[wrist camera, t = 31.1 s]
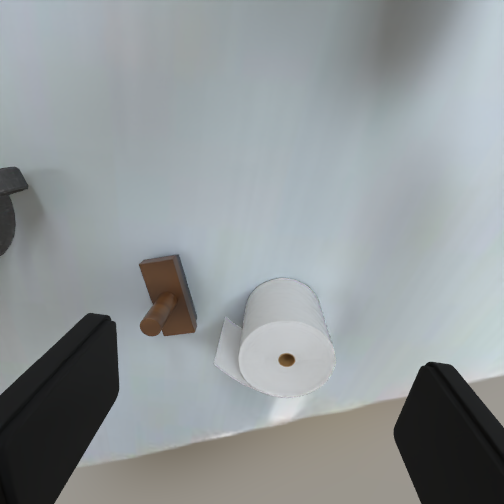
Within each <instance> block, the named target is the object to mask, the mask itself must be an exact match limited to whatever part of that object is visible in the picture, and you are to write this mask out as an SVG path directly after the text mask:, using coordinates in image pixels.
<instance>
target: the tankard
mask: <svg viewBox="0 0 504 504" xmlns="http://www.w3.org/2000/svg"><path fill="white" fill-rule="evenodd" d="M26 189H28V185H27V183H26V181H25V179H24V177H23V175H22V173H21V172H20V170H19V169H18V168H16V167H8V168H1V169H0V256H1V255H2V254H4V253H5V251H6V250H7V249H8V247H9V246H10V245H11V242H12V239H13V237H14V232H15V215H14V210H13V206H12V203H11V200H10V198H9V196H8V195H10V194H13V193H17V192H20V191H23V190H26Z"/></svg>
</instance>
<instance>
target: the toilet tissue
mask: <svg viewBox="0 0 504 504" xmlns="http://www.w3.org/2000/svg"><path fill="white" fill-rule="evenodd" d="M335 364H336V356H335V351H334V347H333V344H332V340H331V337H330V334H329V331H328V328H327V324H326V322H325V318H324V315H323V312H322V308H321V306H320V303H319V300H318V298H317V296H316V295H315V293H314V292H313V291H312V290H311V289H310V288H309V287H308V286H306V285H305V284H303V283H301V282H299V281H297V280H295V279H289V278H278V279H274V280H270V281H267V282H265V283H263V284H261V285H260V286H258V287H257V288H256V289H255V290H254V291H253V292H252V293H251V295H250V296H249V298H248V300H247V303H246V307H245V314H244V319H243V327H242V328H240V327H238V326H237V325H236V324H234V323H233V322H232V321H231V320H229V319H228V318H227V317H226V316H225V320H224V324H223V328H222V332H221V336H220V340H219V344H218V348H217V352H216V356H215V359H214V365H215V366H216V367H218V368H219V369H220V370H222V371H223V372H224V373H225V374H227V375H228V376H230V377H231V378H233V379H235V380H237V381H238V382H239V383H241V384H243V385H245V386H248V387H250V388H252V389H254V390H257V391H259V392H262V393H265V394H268V395H271V396H275V397H281V398H293V397H300V396H304V395H307V394H309V393H312V392H314V391H316V390H317V389H319V388H320V387H322V386H323V385H324V384H325V383H326V382H327V381H328V379H329V378H330V376H331V375H332V373H333V370H334V367H335Z"/></svg>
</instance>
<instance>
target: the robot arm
mask: <svg viewBox="0 0 504 504" xmlns="http://www.w3.org/2000/svg"><path fill="white" fill-rule="evenodd" d="M118 392H119V372H118V353H117V333H116V323H115V322H114V321H111V318H110V316H108V315H101V314H94V313H88V314H87V315H85V316H84V317H83V318H82V319H81V320H80V321H79V322H78V323H77V324H76V325H75V326H74V327H73V328H72V329H71V330H70V331H69V332H67V333H66V334H65V335H64V336H63V337H62V338H61V339H60V340H59V341H58V342H57V343H56V344H55V345H54V346H53V347H52V348H50V349H49V350H48V351H47V352H46V353H45V354H44V355H43V356H42V357H41V358H40V359H38V360H37V361H36V362H35V363H34V364H33V365H32V366H31V367H30V368H29V369H28V370H27V371H25V372H24V373H23V374H22V375H21V376H20V377H19V378H18V379H17V380H16V381H15V382H14V383H13V384H12V385H11V386H10V387H8V388H7V389H6V390H5V391H4V392H3V393H2V394H1V395H0V504H54V503H55V501H56V500H57V498H58V496H59V495H60V493H61V491H62V489H63V488H64V486H65V485H66V483H67V481H68V479H69V478H70V476H71V474H72V473H73V471H74V469H75V468H76V466H77V464H78V463H79V461H80V459H81V458H82V456H83V454H84V453H85V451H86V449H87V448H88V446H89V444H90V443H91V441H92V439H93V437H94V436H95V434H96V432H97V431H98V429H99V427H100V426H101V424H102V422H103V421H104V419H105V417H106V416H107V414H108V412H109V411H110V409H111V407H112V406H113V404H114V402H115V400H116V398H117V396H118ZM394 439H395V442H396V444H397V447H398V449H399V451H400V454H401V456H402V459H403V461H404V463H405V466H406V468H407V471H408V473H409V475H410V478H411V480H412V482H413V485H414V487H415V489H416V492H417V494H418V497H419V499H420V501H421V504H504V428H503V426H502V425H501V424H500V423H499V421H498V420H497V419H496V418H495V416H494V415H493V414H492V413H491V412H490V410H489V409H488V408H487V407H486V406H485V404H484V403H483V402H482V401H481V400H480V398H479V397H478V396H477V395H476V394H475V392H474V391H473V390H472V388H471V387H470V386H469V385H468V384H467V382H466V381H465V380H464V379H463V377H462V376H461V375H460V374H459V373H458V371H457V370H456V369H455V368H454V367H453V366H452V365H449V364H443V363H436V362H428V363H427V364H426V365H425V366H422V367H421V368H420V369H419V372H418V374H417V376H416V379H415V381H414V383H413V385H412V388H411V390H410V392H409V395H408V397H407V399H406V401H405V404H404V406H403V408H402V411H401V413H400V415H399V417H398V420H397V422H396V424H395V427H394Z"/></svg>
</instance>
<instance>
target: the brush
mask: <svg viewBox="0 0 504 504" xmlns="http://www.w3.org/2000/svg"><path fill="white" fill-rule="evenodd" d="M139 266H140V269H141V272H142V275H143V278H144V280H145V283H146V286H147V289H148V292H149V295H150V298H151V301H152V303H153V306H152V307H151V309H150V310H149V311H148V313H147V314H146V316H145V317H144V318H143V320H142V321H141V323H140V329H141V331H142V332H143V333H144V334H146V335H148V336H156V335H158V334H159V333H160V332H161V330H162V332H163V335H164V336H170V335H178V334H186V333H194V332H195V330H196V328H197V324H196V319H197V315H196V312H195V308H194V305H193V301H192V298H191V295H190V291H189V288H188V284H187V281H186V277H185V274H184V271H183V267H182V264H181V260H180V257H179V255H173V256H166V257H160V258H154V259H147V260H143V261H142V262H141V263H140V264H139Z"/></svg>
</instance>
